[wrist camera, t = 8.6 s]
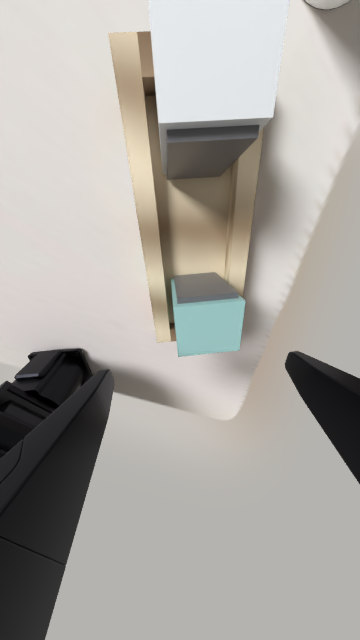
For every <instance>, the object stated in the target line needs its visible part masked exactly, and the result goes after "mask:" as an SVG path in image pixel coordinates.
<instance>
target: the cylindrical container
mask: <svg viewBox="0 0 360 640" xmlns="http://www.w3.org/2000/svg"><path fill="white" fill-rule="evenodd" d="M305 1H306V2H307V3H309V4H310V5H312V6H314V7H315V8H320V9H326V10H327V9H332V8H337V7H339V6H341V5H343V4H345V3H347V2H349V1H350V0H305Z"/></svg>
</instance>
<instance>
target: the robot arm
mask: <svg viewBox="0 0 360 640" xmlns="http://www.w3.org/2000/svg"><path fill="white" fill-rule="evenodd" d="M77 352H78V353H77ZM28 358H29V360H30V362H29V363H28V364H27V365H26V366H25V367H23V368H22V369H21V370H20V371H19V372H18V373H17V374H16V376H15V379H16V380H15V381H14V382H13V383H10V382H8V381H5V382H4V383H3V384H1V385H0V640H45V637H46V634H47V630H48V627H49V623H50V620H51V616H52V613H53V609H54V606H55V602H56V599H57V595H58V592H59V588H60V585H61V581H62V577H63V574H64V571H65V567H66V566H65V565H66V563H67V559H68V556H69V553H70V549H71V546H72V542H73V539H74V535H75V532H76V528H77V525H78V522H79V518H80V514H81V511H82V507H83V504H84V501H85V497H86V493H87V490H88V487H89V483H90V480H91V476H92V472H93V469H94V466H95V462H96V459H97V455H98V452H99V448H100V445H101V441H102V438H103V434H104V431H105V427H106V424H107V420H108V416H109V411H110V406H111V400H112V394H113V389H114V379H113V376H112V374H111V371H110V369H102V370H100V371H98V372H97V373H96V374H95V375H94V376H93V375H92V373H91V371H90V368H89V366H88V364H87V362H86V359H85V357H84V355H83V353H82V351H81V350H80V349H77V348H76V349H66V350H51V351H41V352H33V353H31V354H30V355H28ZM285 368H286V370H287V372H288V374H289V376H290V377H291V379H292V381H293V383H294V385H295V387H296V389H297V390H298V392H299V394H300V396H301V397H302V399H303V400H304V402H305V403H306V404H307V406H308V408H309V409H310V411H311V412H312V414H313V415H314V417H315V418H316V420H317V421H318V423H319V424H320V425H321V427H322V429H323V430H324V432H325V433H326V435H327V436H328V438H329V439H330V440H331V442H332V444H333V445H334V447H335V448H336V450H337V451H338V452H339V454H340V456H341V457H342V458H343V460H344V462H345V463H346V465H347V466H348V468H349V469H350V471H351V472H352V473H353V475H354V476H355V478H356V479H357V481H358V482H359V484H360V379H359V378H357V377H355V376H353V375H351V374H348V373H346V372H344V371H341V370H339V369H337V368H335V367H333V366H330V365H328V364H326V363H323V362H321V361H319V360H317V359H315V358H313V357H310V356H308V355H306V354H304V353H301V352H298V351H294V352H289V354H288V356H287V359H286V362H285Z"/></svg>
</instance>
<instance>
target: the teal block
mask: <svg viewBox="0 0 360 640" xmlns="http://www.w3.org/2000/svg"><path fill="white" fill-rule="evenodd" d="M171 287H172V299H173V311H174V320H175V330H176V340H177V349H178V357H181V356H190V355H200V354H209V353H219V352H228V351H238V350H240V342H241V333H242V325H243V317H244V309H245V300H244V299H243V298H242V297H241V296H240V295H239V294H238V293H239V292H237V291H236V290H235V289H234V288H233V287H232V286H230V285H229V284H228V283H227V282H226V281H225V280H224V279H222V278H221V277H220V276H219V275H218V274H217V273H216V272H209V273H198V274H188V275H177V276H174V279H171Z"/></svg>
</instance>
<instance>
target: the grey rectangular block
mask: <svg viewBox="0 0 360 640" xmlns="http://www.w3.org/2000/svg"><path fill="white" fill-rule="evenodd" d="M289 1H290V0H148V6H149V18H150V30H151V42H152V55H153V67H154V79H155V91H156V103H157V114H158V125H159V137H160V148H161V160H162V171H163V175H167V180H173V179H189V178H205V177H220V176H221V175H222V174H223V173H224V172H225V171H226V170H227V169H228V168H229V167H230V166H231V165H232V164H233V163H234V162H235V161H236V160H237V159H238V158H239V157H240V156H241V155H242V154H243V153H244V152H245V151H246V150H247V149H248V148H249V146H250V145H251V144H252V143H253V142H254V141H255V140H256V139H257V138H258V134H259V132H260V131H261V130H262V129H263V127H264V126H265V125H266V124H267V123H268V122H269V121H270V120H271V119H272V118H273V114H274V107H275V100H276V93H277V86H278V79H279V71H280V64H281V57H282V50H283V43H284V36H285V29H286V22H287V15H288V8H289Z"/></svg>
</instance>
